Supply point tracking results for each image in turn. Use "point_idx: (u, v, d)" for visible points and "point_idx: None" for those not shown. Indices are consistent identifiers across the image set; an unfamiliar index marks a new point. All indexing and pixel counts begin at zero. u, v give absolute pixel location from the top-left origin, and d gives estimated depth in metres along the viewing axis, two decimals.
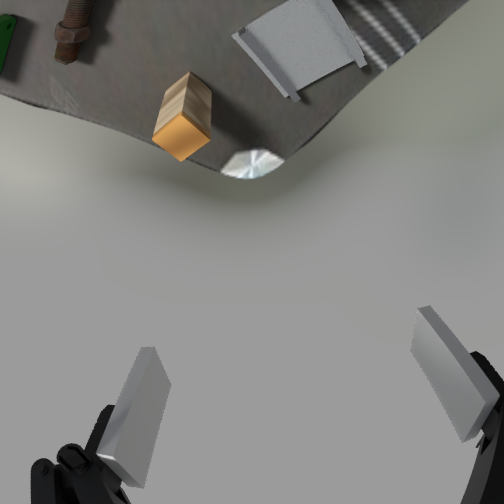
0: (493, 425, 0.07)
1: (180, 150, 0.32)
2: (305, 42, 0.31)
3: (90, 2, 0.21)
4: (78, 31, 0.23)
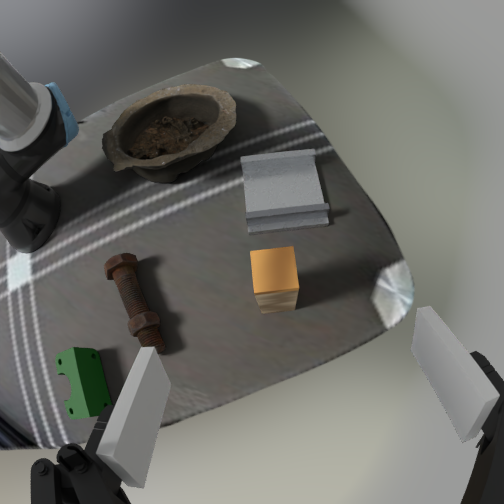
0: (493, 425, 0.07)
1: (285, 278, 0.31)
2: (284, 188, 0.47)
3: (139, 292, 0.42)
4: (145, 313, 0.39)
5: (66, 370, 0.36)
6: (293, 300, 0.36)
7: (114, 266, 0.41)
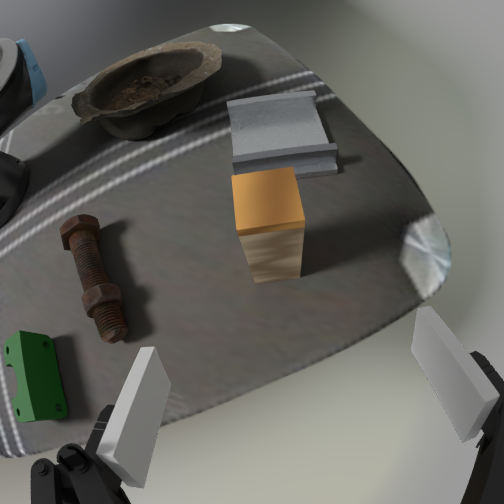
0: (493, 425, 0.07)
1: (283, 207, 0.20)
2: (280, 133, 0.37)
3: (97, 260, 0.31)
4: (102, 285, 0.29)
5: (13, 360, 0.25)
6: (297, 254, 0.25)
7: (70, 230, 0.31)
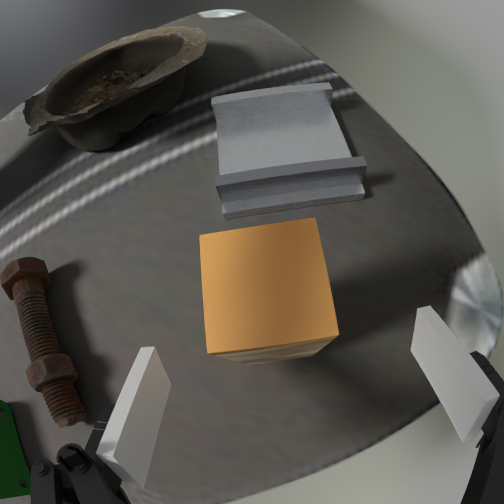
0: (493, 425, 0.07)
1: (298, 308, 0.10)
2: (283, 141, 0.27)
3: (43, 320, 0.21)
4: (47, 357, 0.19)
5: None
6: (314, 349, 0.15)
7: (10, 279, 0.21)
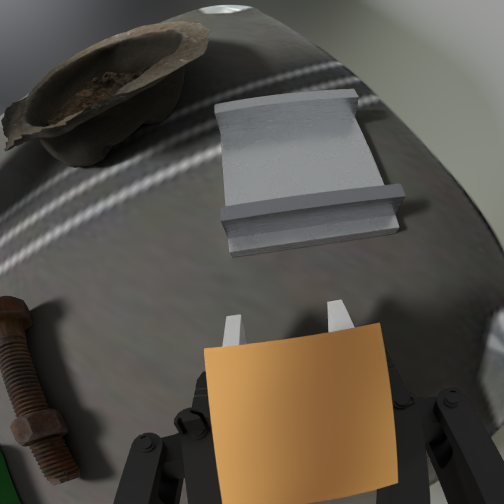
0: None
1: (350, 458, 0.06)
2: (301, 159, 0.23)
3: (25, 370, 0.17)
4: (31, 415, 0.15)
5: None
6: None
7: None
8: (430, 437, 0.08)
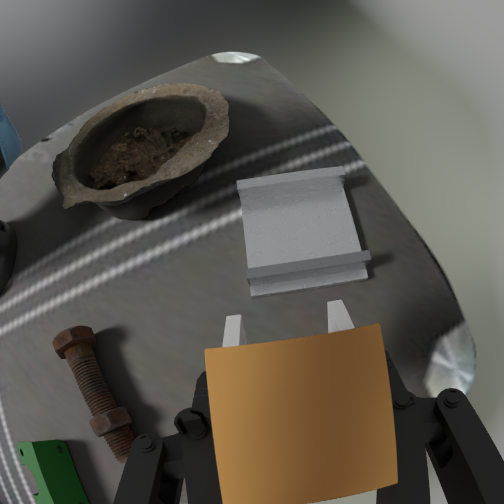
0: None
1: (350, 458, 0.06)
2: (301, 225, 0.33)
3: (99, 380, 0.27)
4: (109, 412, 0.24)
5: (29, 464, 0.21)
6: None
7: (63, 346, 0.27)
8: (430, 436, 0.08)
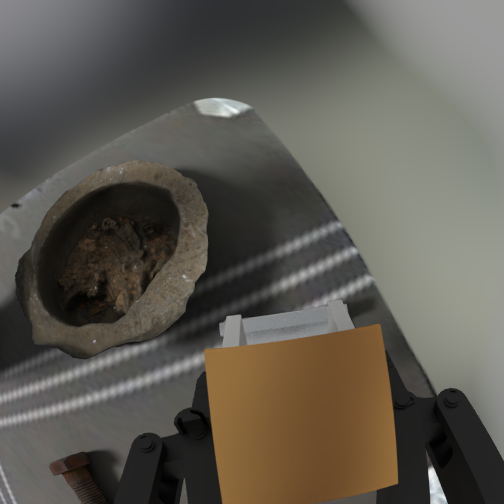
0: None
1: (350, 458, 0.06)
2: None
3: (99, 500, 0.22)
4: None
5: None
6: None
7: (60, 473, 0.22)
8: (430, 436, 0.08)
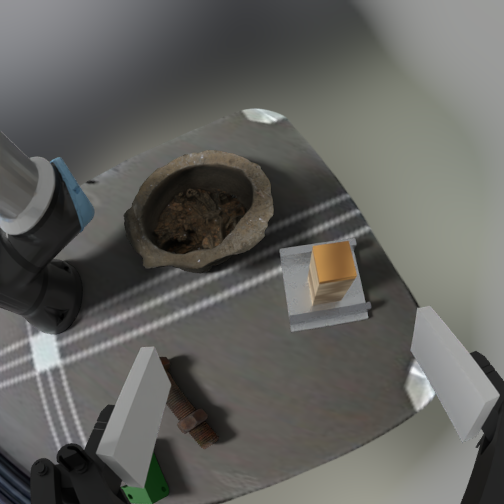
0: (493, 425, 0.07)
1: (345, 268, 0.35)
2: None
3: (180, 393, 0.41)
4: (193, 413, 0.38)
5: None
6: (345, 289, 0.39)
7: None
8: None
